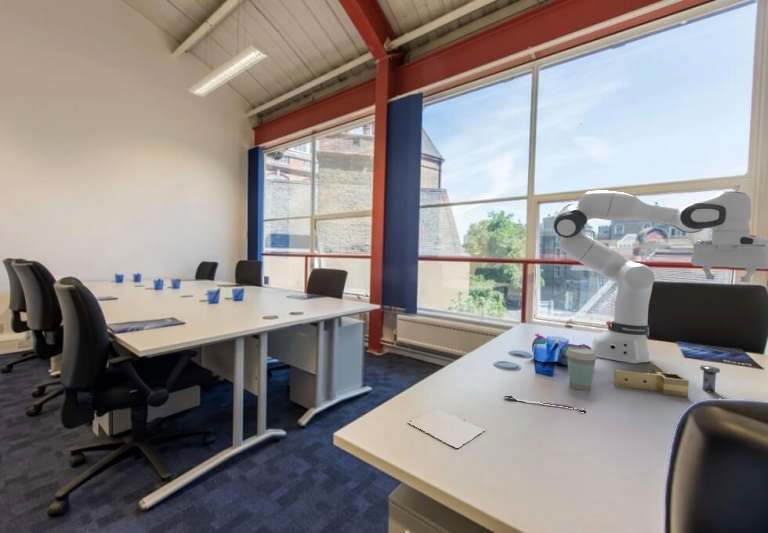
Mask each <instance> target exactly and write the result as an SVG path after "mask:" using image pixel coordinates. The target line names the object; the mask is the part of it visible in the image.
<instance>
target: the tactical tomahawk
mask: <svg viewBox="0 0 768 533" xmlns="http://www.w3.org/2000/svg"><path fill="white" fill-rule="evenodd" d="M512 396H513V395H510V396H505V397H508V398H507V399H510V398H513V397H514V396H513V397H512ZM505 397H504V398H505ZM512 400H514V398H513V399H512ZM540 402H541V403H542V402H543V401H540ZM551 403H552V402H547V403H543V404H550V405H556V406H563V407H568V408H573V409H574V407H575V406H570V405H568V404H559V403H554V404H551ZM577 410H579V411H580V412H584V413H585V414H587V410H582V409H579V408H578V409H577ZM577 410H576V411H577ZM579 411H578V412H579ZM580 412H579V413H580Z"/></svg>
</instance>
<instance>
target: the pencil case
mask: <svg viewBox="0 0 768 533" xmlns="http://www.w3.org/2000/svg"><path fill="white" fill-rule="evenodd" d="M534 336H536V337H535V338H534V339H533V342H532V344H531V351H532V353H533V346H534V344H545V343H546V341H547V338H546V337H545V336H543V335H540V333H535V334H534ZM564 344H565V345H563V346H562V348H561V349H560V352H559V355H558V361H559V362H560V363H562V365H564V366H566V367H568V361H567V355H566V351H567V350H568V348H569V347H583V348H588V349H591V348H590V347H589V345H588V344H585V343H582V344H574V343H564ZM560 363H559V364H560Z"/></svg>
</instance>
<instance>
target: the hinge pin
mask: <svg viewBox="0 0 768 533" xmlns="http://www.w3.org/2000/svg"><path fill="white" fill-rule="evenodd" d="M699 367H700V368H699V369H700V370H701V371H703V374H702V375H703V376H702V391H704V390H705V391H704V392H707V391H710V392H709V393H715V392H716V382H717V380H716V378H717V374H719V373H721V371H720V370H721V369H720V368H719V367H715V366H711V365H704V364H703V365H700V366H699Z"/></svg>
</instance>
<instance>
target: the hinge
mask: <svg viewBox="0 0 768 533" xmlns="http://www.w3.org/2000/svg"><path fill="white" fill-rule="evenodd" d="M648 370H649V371H648V372H640V371H639V372H638V371H630V370H621V369H614V379H613V385H614V386H615V385H617V386H616V387H622V386H625V387H624V388H630V387H633V388H632V389H639V388H642V389H641V390H647V389H650V390H649V391H655V390H658V392H660V393H661V392H662V393H661V394H663V395H665V394H667V396H673V395H678V396H677V397H681V396H688V397H689V382H690V381H689V380H688V379H687V378H685V377H684V376H682V375H681V374H679V373H674V372H668V371H667V370H666V369H664V368H663V367H662V366H660V365H658V364H657V362H654V361H653V360H651V361H649V369H648Z"/></svg>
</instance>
